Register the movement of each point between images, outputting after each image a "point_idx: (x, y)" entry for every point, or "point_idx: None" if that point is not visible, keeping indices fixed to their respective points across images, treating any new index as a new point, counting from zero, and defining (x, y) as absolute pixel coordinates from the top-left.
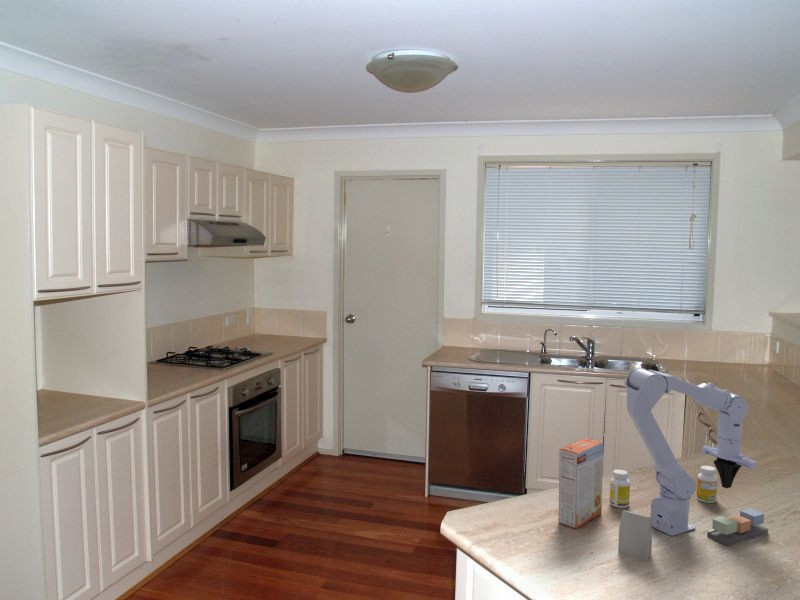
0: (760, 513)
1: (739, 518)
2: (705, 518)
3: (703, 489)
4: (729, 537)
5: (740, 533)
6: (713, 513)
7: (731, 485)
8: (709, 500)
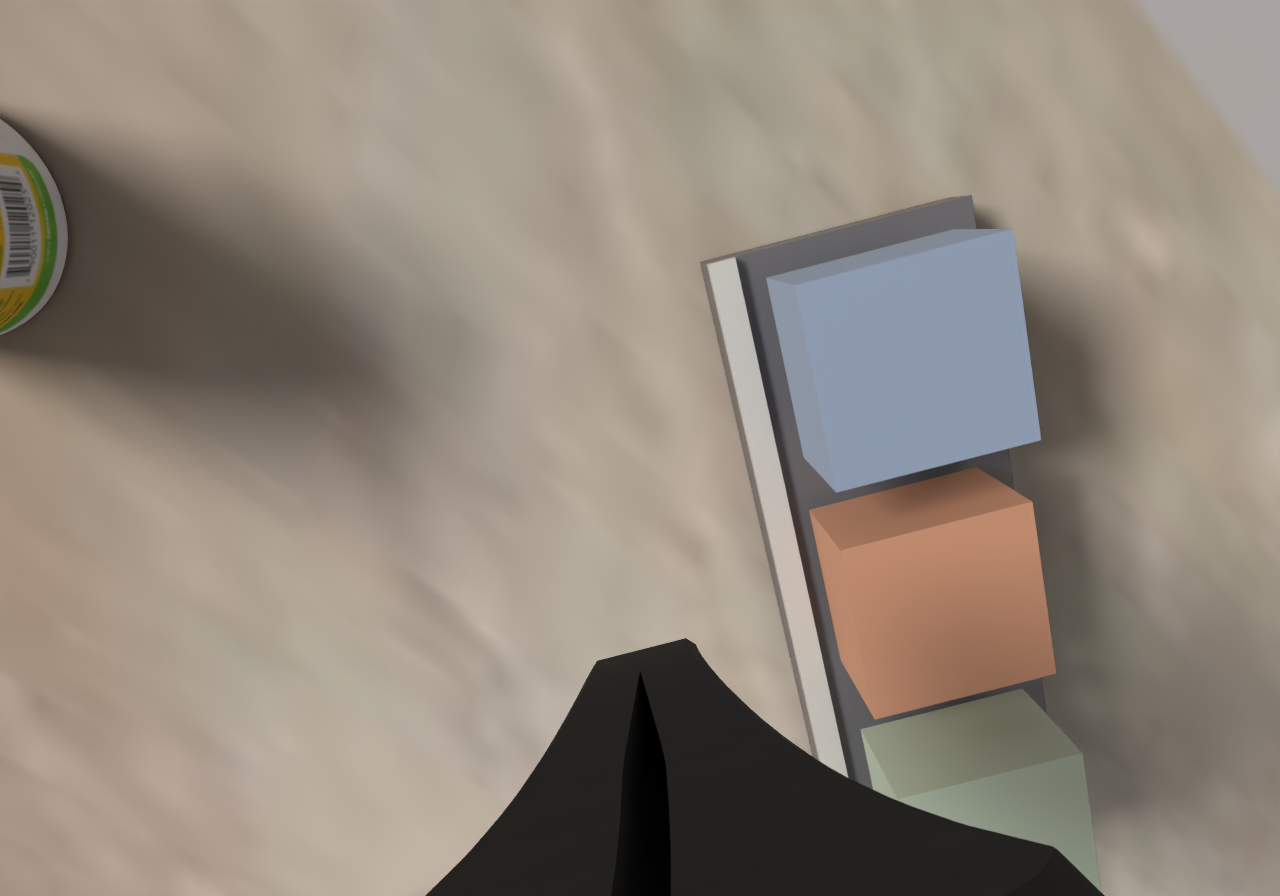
0: (991, 280)
1: (946, 597)
2: (475, 596)
3: None
4: None
5: None
6: (368, 425)
7: (698, 653)
8: (49, 269)
